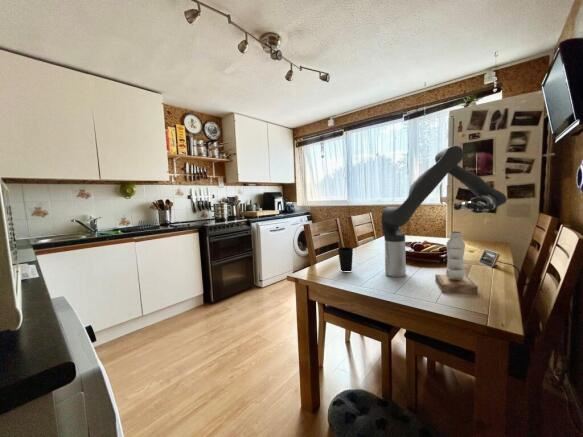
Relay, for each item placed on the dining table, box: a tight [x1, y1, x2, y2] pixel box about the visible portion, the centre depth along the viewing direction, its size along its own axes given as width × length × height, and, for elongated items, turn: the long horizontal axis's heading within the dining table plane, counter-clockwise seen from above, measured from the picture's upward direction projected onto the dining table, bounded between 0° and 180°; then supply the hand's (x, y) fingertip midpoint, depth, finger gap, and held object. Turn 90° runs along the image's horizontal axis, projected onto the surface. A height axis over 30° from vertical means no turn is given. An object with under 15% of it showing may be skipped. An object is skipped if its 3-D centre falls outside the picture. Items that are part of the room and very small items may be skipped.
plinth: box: [434, 274, 479, 295], centre depth 105 cm, size 12×12×3 cm
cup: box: [337, 246, 354, 271], centre depth 133 cm, size 8×8×12 cm
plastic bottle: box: [445, 230, 466, 281], centre depth 103 cm, size 6×7×20 cm
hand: (467, 207), depth 107 cm, fingers open, 8 cm apart
